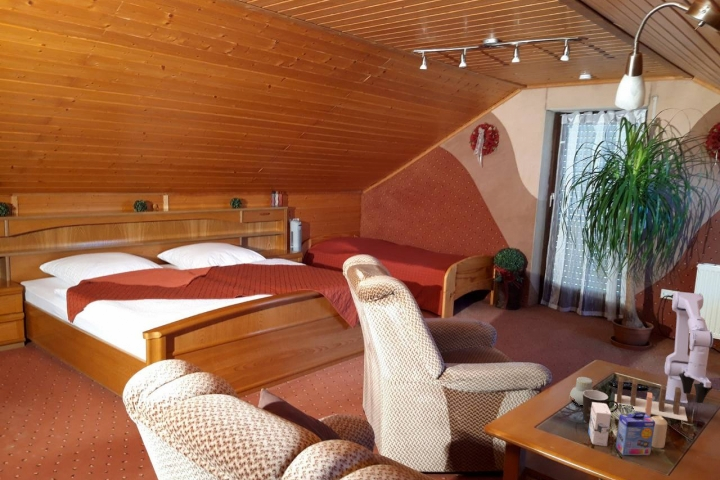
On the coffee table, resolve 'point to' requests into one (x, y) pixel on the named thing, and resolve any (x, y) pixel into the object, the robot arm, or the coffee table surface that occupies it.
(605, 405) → the ink box
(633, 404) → the tile
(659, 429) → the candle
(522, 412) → the coffee table surface
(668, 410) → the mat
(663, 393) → the tile
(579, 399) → the air freshener
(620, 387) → the tile
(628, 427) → the ink cartridge box
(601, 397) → the coffee mug
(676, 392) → the tile
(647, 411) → the tile
